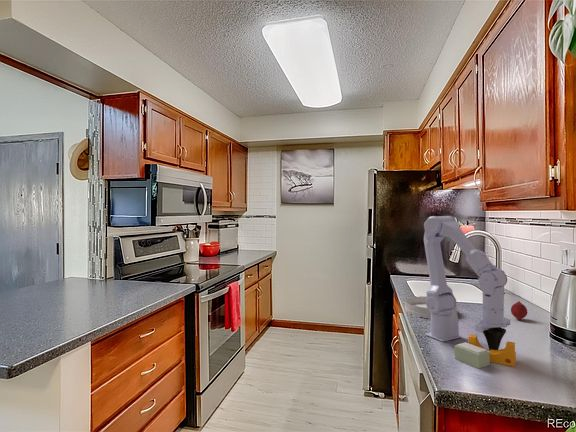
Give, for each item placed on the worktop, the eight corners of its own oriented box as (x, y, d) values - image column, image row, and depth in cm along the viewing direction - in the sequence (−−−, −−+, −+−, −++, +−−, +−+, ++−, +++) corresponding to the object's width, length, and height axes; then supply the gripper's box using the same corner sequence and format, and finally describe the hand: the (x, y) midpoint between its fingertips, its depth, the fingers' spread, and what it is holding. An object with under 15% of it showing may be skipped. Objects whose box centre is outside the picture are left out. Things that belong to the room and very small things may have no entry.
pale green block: (465, 355, 110) (465, 341, 110) (489, 365, 102) (489, 350, 102) (454, 358, 107) (454, 344, 107) (478, 368, 100) (478, 353, 100)
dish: (416, 321, 146) (415, 309, 146) (397, 307, 168) (397, 296, 168) (467, 319, 147) (467, 308, 147) (442, 306, 169) (442, 295, 169)
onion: (530, 322, 141) (530, 302, 141) (514, 321, 143) (514, 302, 143) (523, 318, 147) (523, 299, 147) (508, 317, 148) (508, 298, 148)
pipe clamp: (515, 362, 104) (515, 341, 104) (514, 367, 101) (513, 345, 101) (471, 352, 112) (471, 332, 112) (468, 357, 109) (468, 336, 109)
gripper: (490, 314, 103) (491, 359, 103) (520, 307, 109) (520, 350, 109) (468, 308, 109) (469, 351, 109) (497, 302, 115) (498, 343, 115)
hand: (493, 350), depth 109 cm, fingers closed
